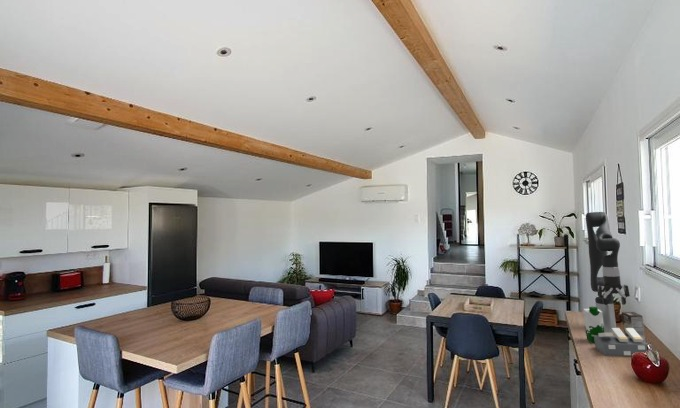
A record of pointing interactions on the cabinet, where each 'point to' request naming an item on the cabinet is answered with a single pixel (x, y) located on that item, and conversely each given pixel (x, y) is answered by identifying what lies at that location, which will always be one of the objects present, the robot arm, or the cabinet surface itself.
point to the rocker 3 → (633, 335)
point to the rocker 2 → (619, 334)
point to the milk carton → (593, 323)
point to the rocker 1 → (605, 334)
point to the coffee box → (633, 323)
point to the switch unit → (618, 346)
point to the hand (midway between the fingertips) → (614, 304)
